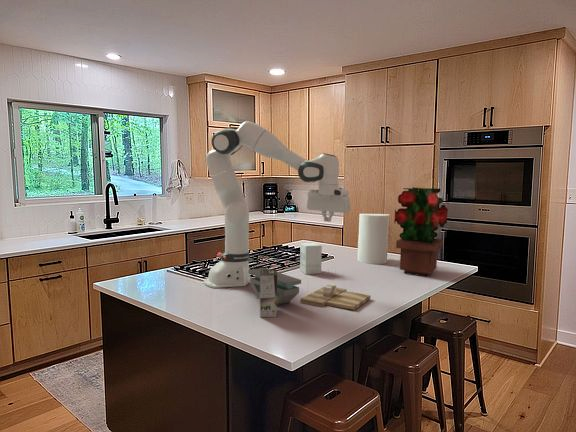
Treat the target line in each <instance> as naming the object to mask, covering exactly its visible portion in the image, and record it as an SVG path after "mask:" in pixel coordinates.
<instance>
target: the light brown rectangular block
mask: <svg viewBox="0 0 576 432" xmlns="http://www.w3.org/2000/svg"><path fill="white" fill-rule="evenodd" d="M344 291H347V289H346V288H341V287H337V284H334V283H329V284H326V285H324V286H322V287H321V288H319V289H317V290H315V291H313V292H310V293H309V294H307V295H305V296H304V297H301V298H300V299H299V300H300V301H299V302H300V303H301V304H305V305H310V306H314V307H315V306H316V307H320V308H323V307H324V306H327V305H326V302H327V301H329V300H330V299H332V298H334V297H335V296H337V295H339V294H341V293H342V292H344Z"/></svg>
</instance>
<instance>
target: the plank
mask: <svg viewBox="0 0 576 432" xmlns="http://www.w3.org/2000/svg"><path fill="white" fill-rule="evenodd" d="M369 300H371V294H365V293H359V292H354V291H353V292H351V291H347V290H346V291H344V292H342V293H341V294H339V295H337V296H335V297H334V298H332V299H330V300H329V301H327V302H326V305H325V306H328V307H335V308H340V309H346V310H352V311H355V310H356V309H357V308H359V307H360V306H362V305H363V304H364V303H366V302H367V301H369Z"/></svg>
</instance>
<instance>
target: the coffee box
mask: <svg viewBox="0 0 576 432" xmlns="http://www.w3.org/2000/svg"><path fill="white" fill-rule="evenodd" d="M277 306H278V305H277V269H274V268H273V269H271V268H266V269H265V270H264V269H261V270H260V299H259V317H260V318H276V317H277V311H278V310H277Z"/></svg>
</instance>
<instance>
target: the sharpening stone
mask: <svg viewBox="0 0 576 432" xmlns="http://www.w3.org/2000/svg"><path fill="white" fill-rule="evenodd" d="M261 269H264V270H265V269H267V268H266V267H258V268H253V269H249V274H250V276H251V275H252V276H254V277H251V278H250V283H249V284H250V286H251V288H252V290H253V292H254V294H255V296H256V298H257V299H258V300H260V270H261ZM301 284H302V279H300V278H296V277H294V276H290V275H287V274H284V273H281V272H277V306H279V305H282V304H288V303H291V301H292V300H293V299H294V298H295V297H297V296H298V294H299V293H300V287H299V286H298V285H301Z"/></svg>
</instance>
